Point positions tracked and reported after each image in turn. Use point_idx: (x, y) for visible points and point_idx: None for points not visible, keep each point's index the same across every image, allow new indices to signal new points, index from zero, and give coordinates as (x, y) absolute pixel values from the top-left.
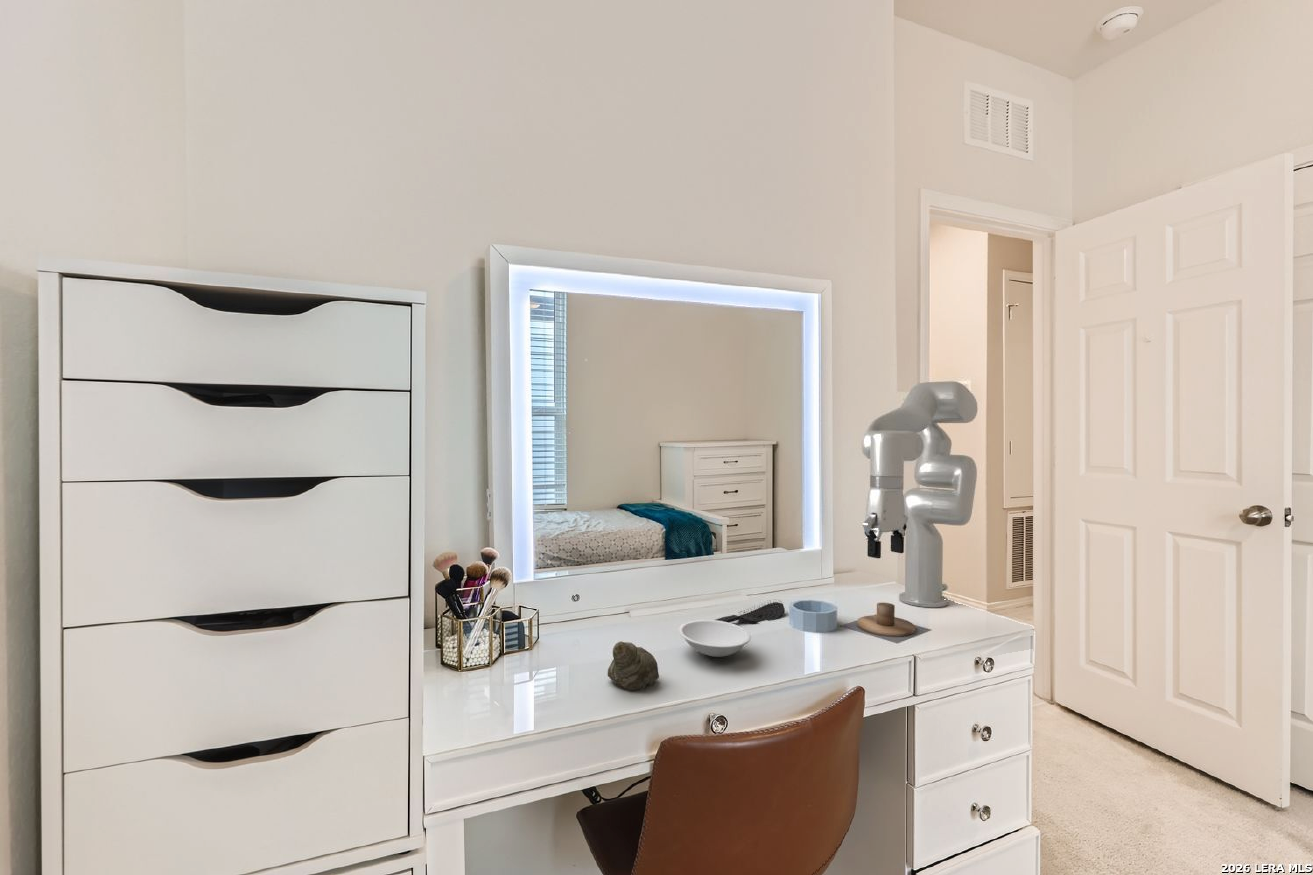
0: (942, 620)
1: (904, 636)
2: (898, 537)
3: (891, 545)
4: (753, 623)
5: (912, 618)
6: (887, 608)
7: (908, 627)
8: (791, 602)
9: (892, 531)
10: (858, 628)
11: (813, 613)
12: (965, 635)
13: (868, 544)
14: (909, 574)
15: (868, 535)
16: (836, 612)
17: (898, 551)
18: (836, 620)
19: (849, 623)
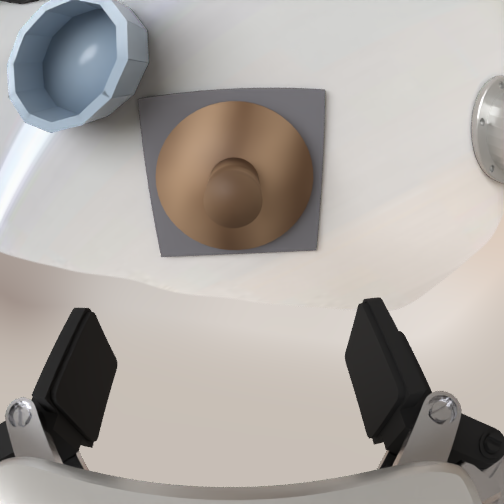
0: (411, 220)
1: None
2: (377, 426)
3: (370, 336)
4: (9, 2)
5: (381, 167)
6: (213, 219)
7: (255, 233)
8: (42, 5)
9: (407, 439)
10: (164, 140)
11: (22, 116)
12: (342, 293)
13: (48, 370)
14: None
15: (5, 440)
16: (96, 114)
17: (350, 347)
18: (108, 109)
19: (178, 97)
